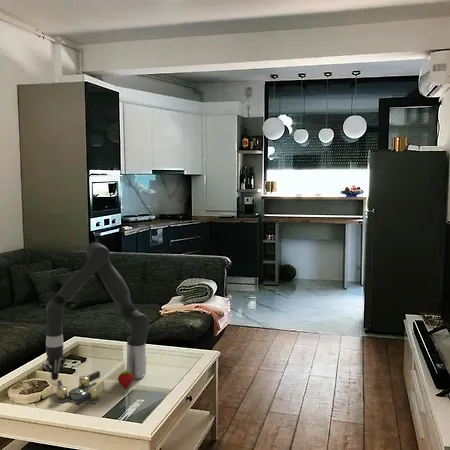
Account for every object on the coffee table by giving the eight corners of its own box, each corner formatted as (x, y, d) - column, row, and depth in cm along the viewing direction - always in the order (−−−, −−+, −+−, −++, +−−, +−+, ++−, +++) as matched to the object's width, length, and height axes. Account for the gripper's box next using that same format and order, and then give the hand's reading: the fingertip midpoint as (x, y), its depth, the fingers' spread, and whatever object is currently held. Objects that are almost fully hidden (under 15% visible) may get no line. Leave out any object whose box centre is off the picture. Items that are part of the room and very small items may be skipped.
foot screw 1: (68, 399, 223) (68, 388, 222) (57, 400, 221) (57, 390, 220) (64, 387, 234) (64, 377, 233) (53, 389, 232) (53, 378, 231)
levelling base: (83, 385, 240) (83, 378, 240) (112, 394, 232) (112, 387, 232) (52, 400, 223) (52, 394, 223) (82, 411, 215) (82, 404, 215)
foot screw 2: (92, 395, 228) (92, 385, 227) (100, 398, 226) (100, 387, 225) (72, 406, 217) (73, 395, 216) (80, 409, 215) (80, 398, 214)
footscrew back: (84, 389, 233) (84, 379, 233) (76, 387, 235) (77, 376, 235) (102, 380, 244) (102, 370, 243) (95, 377, 246) (95, 368, 246)
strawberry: (115, 387, 239) (116, 367, 238) (130, 384, 243) (130, 364, 242) (120, 392, 234) (121, 372, 233) (135, 389, 239) (135, 369, 237)
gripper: (49, 350, 221) (49, 386, 223) (71, 341, 233) (71, 376, 235) (37, 346, 224) (37, 382, 227) (59, 337, 236) (59, 372, 238)
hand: (54, 379), depth 231 cm, fingers closed
